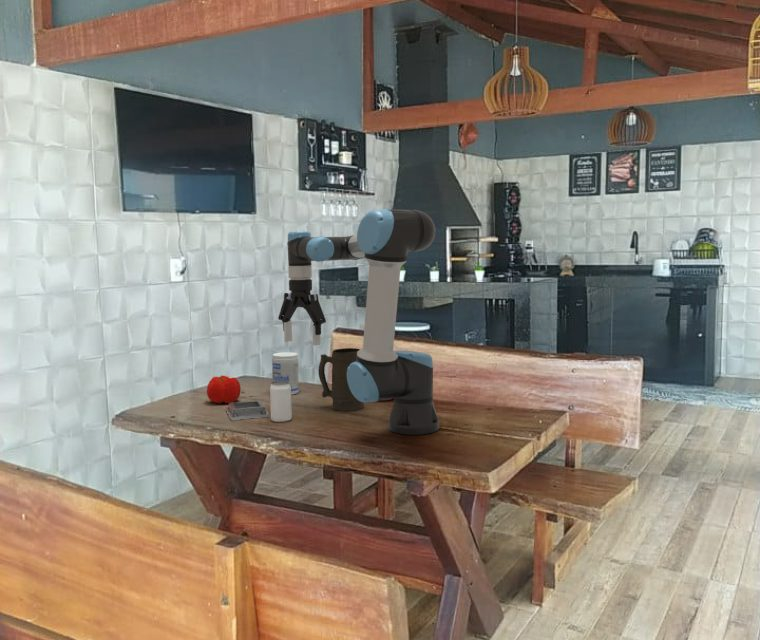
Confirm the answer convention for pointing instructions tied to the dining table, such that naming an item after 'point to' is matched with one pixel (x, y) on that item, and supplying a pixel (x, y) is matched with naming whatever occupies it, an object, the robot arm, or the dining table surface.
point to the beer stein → (339, 379)
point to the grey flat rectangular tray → (246, 410)
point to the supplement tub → (286, 369)
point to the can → (280, 401)
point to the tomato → (223, 389)
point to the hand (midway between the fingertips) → (302, 343)
